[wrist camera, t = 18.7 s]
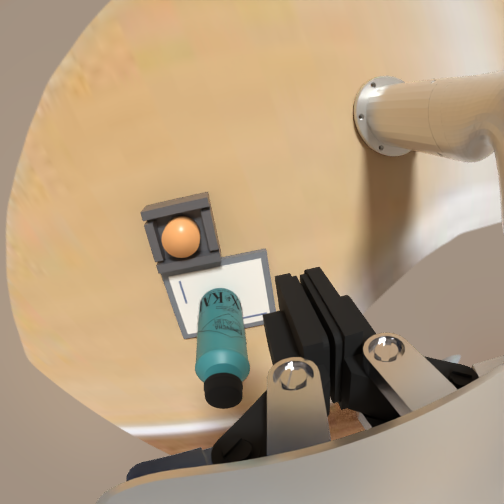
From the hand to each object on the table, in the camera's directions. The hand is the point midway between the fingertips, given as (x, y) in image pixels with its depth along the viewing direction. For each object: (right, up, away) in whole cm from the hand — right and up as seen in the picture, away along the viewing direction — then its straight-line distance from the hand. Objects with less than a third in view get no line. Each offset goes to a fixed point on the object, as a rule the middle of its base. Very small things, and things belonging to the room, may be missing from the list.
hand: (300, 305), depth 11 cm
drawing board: (-7, -5, +36) cm, 37 cm away
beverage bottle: (-7, -5, +36) cm, 37 cm away
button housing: (-11, +5, +31) cm, 34 cm away
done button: (-11, +5, +30) cm, 32 cm away
